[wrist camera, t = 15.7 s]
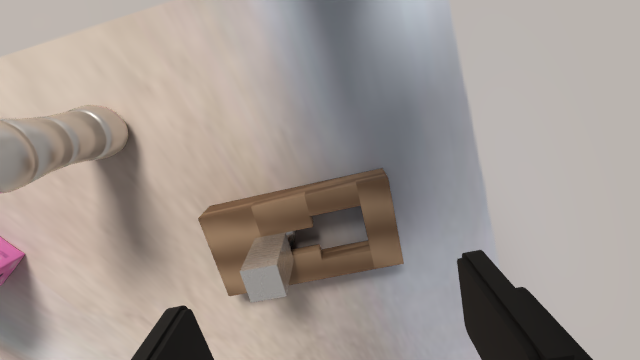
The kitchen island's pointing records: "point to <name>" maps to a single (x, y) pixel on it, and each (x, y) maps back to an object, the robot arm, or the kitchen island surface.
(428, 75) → the kitchen island surface
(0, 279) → the gum box
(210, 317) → the kitchen island surface
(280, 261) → the steel peg
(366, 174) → the keyhole plate
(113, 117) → the plastic bottle
